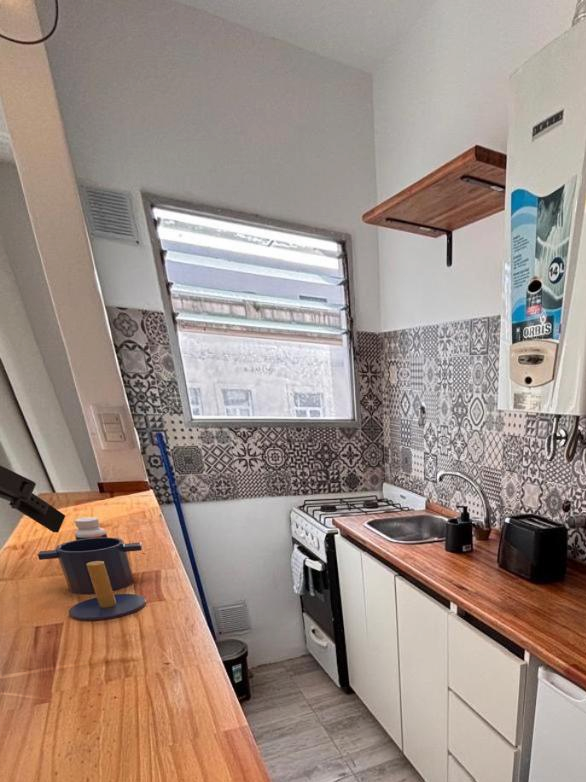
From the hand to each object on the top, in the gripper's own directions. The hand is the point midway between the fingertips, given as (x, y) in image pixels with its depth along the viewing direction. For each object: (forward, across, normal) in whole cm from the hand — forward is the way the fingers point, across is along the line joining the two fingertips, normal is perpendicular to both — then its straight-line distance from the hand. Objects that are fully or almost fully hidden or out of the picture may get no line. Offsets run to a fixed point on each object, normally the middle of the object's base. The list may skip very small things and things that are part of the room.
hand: (15, 521), depth 72 cm
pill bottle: (+36, -22, +11) cm, 44 cm away
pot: (+27, -10, +2) cm, 29 cm away
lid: (+20, 0, -5) cm, 20 cm away
